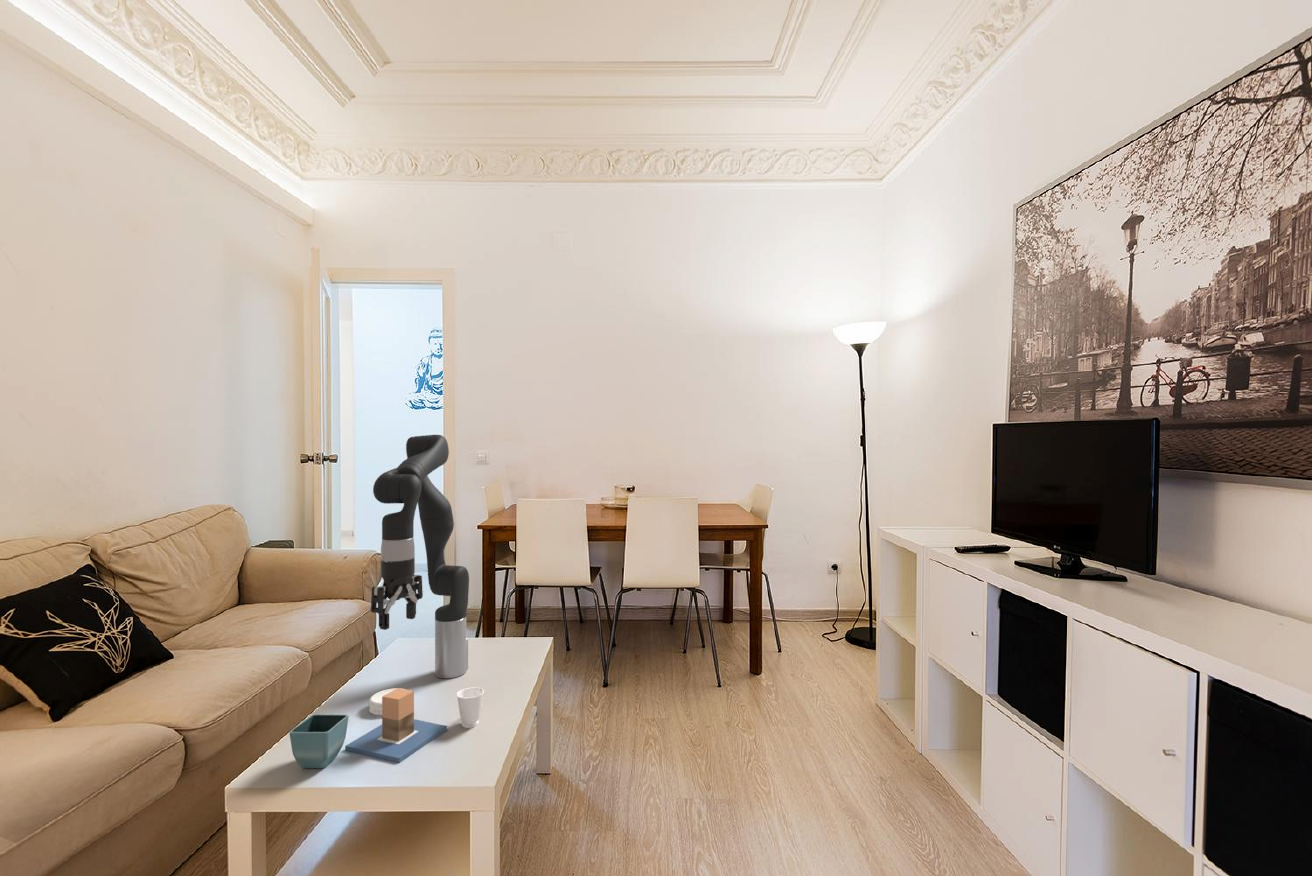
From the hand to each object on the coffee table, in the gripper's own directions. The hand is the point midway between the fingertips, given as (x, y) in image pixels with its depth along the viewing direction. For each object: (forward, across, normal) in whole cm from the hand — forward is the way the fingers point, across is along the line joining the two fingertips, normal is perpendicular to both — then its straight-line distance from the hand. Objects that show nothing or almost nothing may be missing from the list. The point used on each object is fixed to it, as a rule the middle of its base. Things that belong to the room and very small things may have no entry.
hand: (397, 623), depth 144 cm
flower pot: (+28, +14, -9) cm, 33 cm away
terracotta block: (+22, 0, 0) cm, 22 cm away
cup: (+28, -14, +11) cm, 33 cm away
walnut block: (+27, 0, 0) cm, 27 cm away
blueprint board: (+28, 0, 0) cm, 28 cm away
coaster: (+28, -13, -15) cm, 35 cm away
